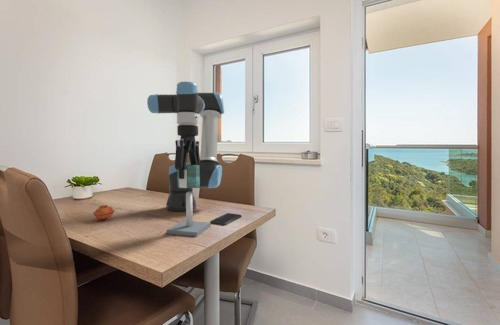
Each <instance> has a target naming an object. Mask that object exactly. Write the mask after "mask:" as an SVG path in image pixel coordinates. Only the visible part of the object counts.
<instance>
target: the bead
mask: <svg viewBox="0 0 500 325" xmlns="http://www.w3.org/2000/svg"><path fill="white" fill-rule="evenodd" d="M185 170H187V188H193V189H198V188H197V187H200V165H186V168H185ZM177 178H178V187H179V170H177Z"/></svg>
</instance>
